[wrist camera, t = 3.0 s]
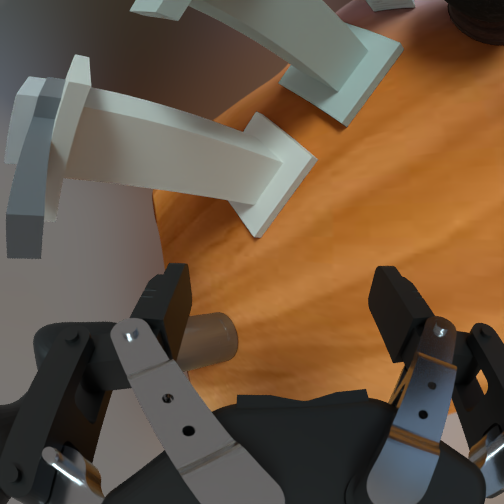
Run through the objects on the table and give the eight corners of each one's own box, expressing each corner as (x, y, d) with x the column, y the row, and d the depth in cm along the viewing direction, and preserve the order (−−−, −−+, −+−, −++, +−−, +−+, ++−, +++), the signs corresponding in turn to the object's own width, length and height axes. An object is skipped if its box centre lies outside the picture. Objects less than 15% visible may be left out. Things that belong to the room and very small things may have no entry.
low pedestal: (404, 49, 27) (258, -106, 7) (346, 127, 34) (152, 17, 14) (331, 22, 34) (193, -75, 15) (284, 86, 42) (127, 14, 22)
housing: (49, 182, 12) (-31, 177, 8) (40, 280, 16) (-21, 280, 12) (65, 79, 23) (29, 74, 20) (48, 137, 27) (15, 134, 24)
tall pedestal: (318, 159, 38) (70, 75, 15) (260, 237, 45) (37, 224, 23) (262, 114, 45) (76, 50, 23) (220, 182, 53) (44, 154, 30)
